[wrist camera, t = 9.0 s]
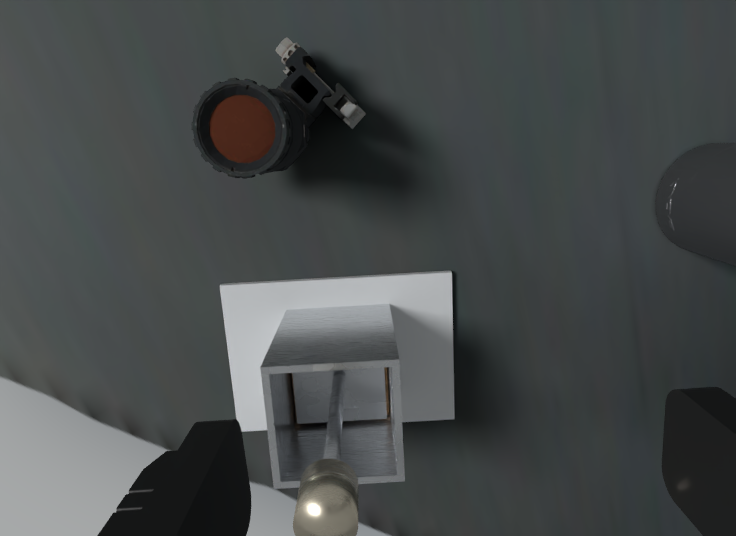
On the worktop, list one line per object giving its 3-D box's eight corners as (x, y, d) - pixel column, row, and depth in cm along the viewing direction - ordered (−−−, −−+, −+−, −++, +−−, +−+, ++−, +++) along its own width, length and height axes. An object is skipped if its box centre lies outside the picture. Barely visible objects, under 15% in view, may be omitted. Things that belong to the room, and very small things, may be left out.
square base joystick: (389, 303, 45) (399, 359, 34) (393, 397, 47) (404, 481, 36) (286, 309, 45) (260, 367, 34) (295, 403, 47) (273, 488, 36)
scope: (369, 100, 29) (250, 231, 30) (366, 114, 42) (284, 203, 44) (257, -12, 27) (138, 130, 29) (291, 39, 41) (209, 134, 42)
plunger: (382, 331, 41) (396, 455, 25) (386, 414, 43) (402, 582, 26) (290, 336, 41) (243, 464, 25) (298, 420, 43) (259, 590, 26)
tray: (450, 270, 45) (451, 272, 45) (453, 415, 48) (454, 419, 48) (221, 283, 45) (219, 285, 45) (239, 428, 48) (238, 431, 48)
